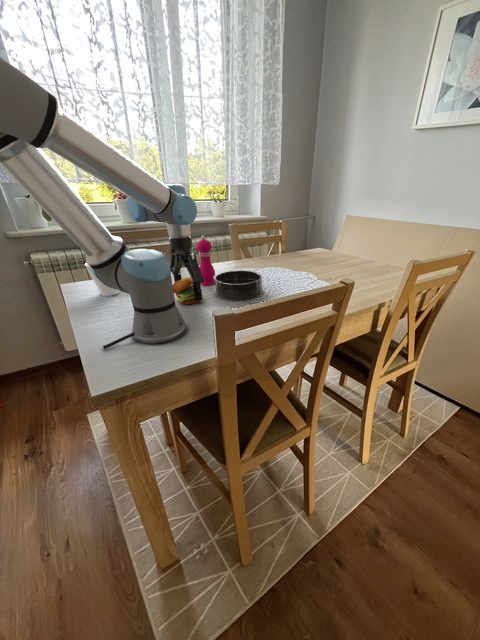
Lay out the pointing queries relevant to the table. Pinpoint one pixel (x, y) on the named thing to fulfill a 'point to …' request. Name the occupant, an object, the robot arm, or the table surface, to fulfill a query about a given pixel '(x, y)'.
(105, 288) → the cup
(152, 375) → the table surface
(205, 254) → the pepper mill
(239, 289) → the bowl
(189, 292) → the cheeseburger
